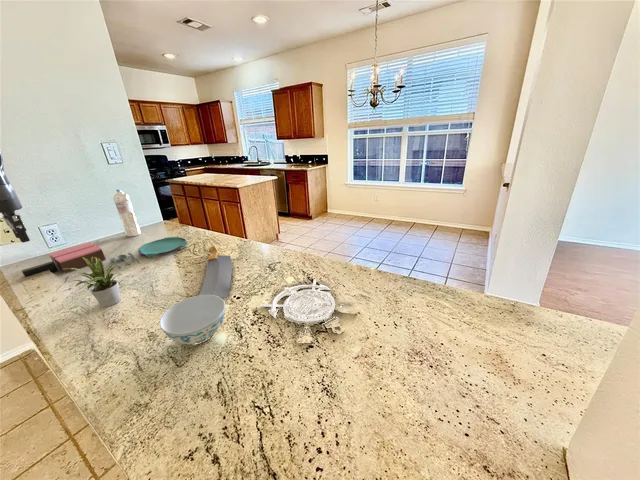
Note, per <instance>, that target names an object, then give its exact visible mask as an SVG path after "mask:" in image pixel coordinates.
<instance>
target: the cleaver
mask: <svg viewBox="0 0 640 480" xmlns="http://www.w3.org/2000/svg"><path fill="white" fill-rule="evenodd" d="M208 252H209V253H210V254H209V255H208V258H207V264H206V272H205V276H204V279H203V283H202V287H201V290H200V292H199V293H198V295H197V296H199V295H215V296H218V297H220V298H221V299H225V298H227V297H228V295H229V293H230V290H231V284H232V283H231V282H232V272H233V271H232V270H233V263H232V258H231V255H219V254H220V252H219V249H218V248H217V247H216V245H212V246H210V247H209V249H208Z"/></svg>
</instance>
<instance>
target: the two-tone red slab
mask: <svg viewBox="0 0 640 480" xmlns="http://www.w3.org/2000/svg"><path fill="white" fill-rule="evenodd" d="M48 255H49V258H50V259H51V261H53V262H55V261H56V262H57V264H58V266H59V268H60V270H59V271H61V272H62V273H64V274H65V275H66V274H68V273H72V272H74V271H75V270H72V269H65V268H75V269H79V270H81V269H83V268H85V267H89V266H88V265H87V263H86V261H85V260H84V259H83V258H82V257H84V258H86V259H88V260H89V261H90V262H91V258H92V257H93V260H94V263H95V262H96V259H95V258H97V260H98V258H99V259H100V260H101V261H102V262H103V261H106V260H107V258H106V257H105V254H104V251H103V249H102V247H100V246H98V245H95V244H94V243H92V242H86V243H82V244H79V245H75V246H72V247H69V248H66V249H62V250H57V251H55V252H51V253H49V254H48ZM98 261H99V260H98ZM91 264H92V263H91Z"/></svg>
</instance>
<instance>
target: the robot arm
mask: <svg viewBox="0 0 640 480" xmlns="http://www.w3.org/2000/svg"><path fill="white" fill-rule="evenodd" d="M13 187H14V186H12V184H11V183H10V180H9V178H8V177H7V175H6V173H5V168H4V161H3V155H2V151H1V150H0V214H2V216H1V217H2V220H3V221H4V222H5V224H6V225H7V226H8V227H9V229H11V231H12V232H13V235H14V236H15V238H16V239H19V240H20V242H21V243H27V242H30V241H31V240H30V237H29V236H28V233H27V228H26V227H25V224H24V221H23V219H22V216H21V215H20V214H19V213H17V212H16V211H19V210H21V209H23V205H22V203H21V201H20V199H19V197H18V195H17V193H16V191H15V189H14V188H13Z"/></svg>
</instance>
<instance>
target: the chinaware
mask: <svg viewBox="0 0 640 480" xmlns="http://www.w3.org/2000/svg"><path fill="white" fill-rule="evenodd" d="M198 295H199V294H198ZM198 295H195V296H190V297H188V298H185V299H182V300H180V301H179V302H177V303H175V304H174V305H172V306H171V307H169V308H168V309H167V310H165V312H164V313H163V314H162V316H161V318H160V319H159V327H160V330H162V332H163V333H164V334H165V336H167V338H169V339H171V340H172V341H174V342H176V343H179V344H182V345H190V344H195V343H200V342H203V341H205V340H206V339H208V338H209V337H211V336H212V335H213V336H214V334H216V332H218V330H219V329H220V328H221V326H222V323H223V321H224V318H225V315H226V314H225V313H226V303H225V300H223V299H224V298H223V299H221V298H220V297H218V296H215V295H199V296H198ZM213 336H212V337H213Z"/></svg>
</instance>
